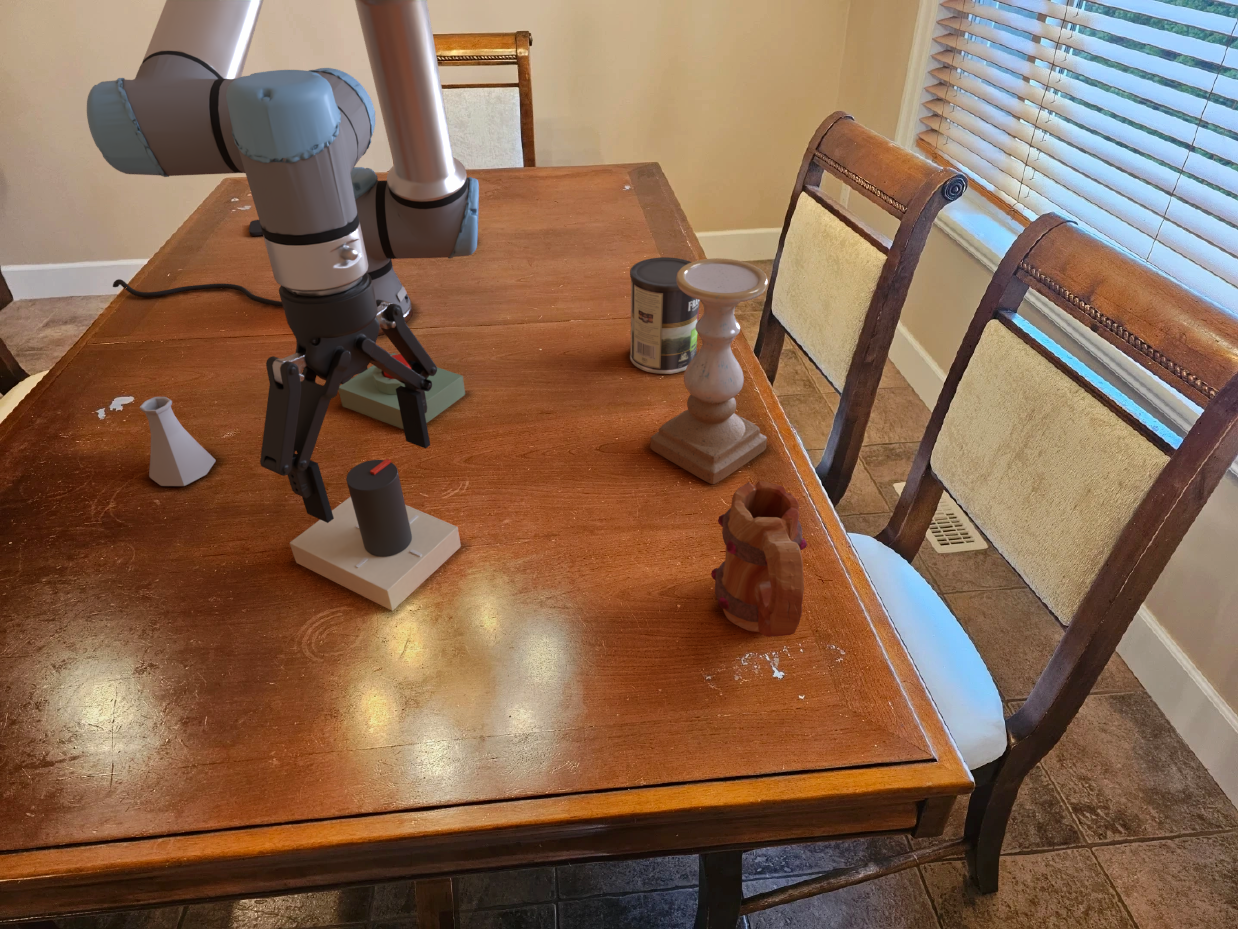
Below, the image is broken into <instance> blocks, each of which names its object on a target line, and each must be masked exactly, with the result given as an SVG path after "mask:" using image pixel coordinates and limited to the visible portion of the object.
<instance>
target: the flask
mask: <svg viewBox="0 0 1238 929" xmlns="http://www.w3.org/2000/svg"><path fill="white" fill-rule="evenodd" d="M172 405H173V400H172V399H170V398H168V397H167V396H154V397H151V398H149V399H147V400H144V401H143V402H142V404H141V405H140V406H139V410H140V411H142V412H143V413H144V414H145V417H146V419H147V420H148V426H149V431H150V454H149V455H150V456H149V470H148V472H149V473H148V477H149V478H150V479H151V480H152V481H154V482H155V483H157V485H159V486H160V487H185V486H187V485H190V484H191V483H193V482H195V481H197V480H200V478H203V477H205V476H206V475H208V473H209V472H210V470H211V469H212V467H213V466H214V464H215V463H216V461H217V460H216V459H215V458H214V457H213V456H212V454H211V453H209V452H208V451H207V450H206V449H205V448H204V447H203V446H202V445H201V444H200V443H199V442H198V441H197V440H196V439H195V438H194V437H193V436H192V435H191V434H190V433H189V432H188V431H187V430H186V429H185V428H184V427H183V425H182V424H181V422H180V421H179V420H178V418H177V417H176V416H175V413H174V411H173V409H172Z"/></svg>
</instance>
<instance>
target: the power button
mask: <svg viewBox="0 0 1238 929" xmlns="http://www.w3.org/2000/svg"><path fill="white" fill-rule="evenodd" d="M396 354H397V355H392V357H394V358H395V359H397V360H398V361H400V362H401V363H403V364H404V365H406V366H407V367H409V368H410V369H411V367H410V366H409V364H408V363H407V362H406V360H405V359H404V358H403V357H402V355H401V354H400V353H396ZM384 375H385V377H386V378H389V379H395V378H393V377H392V376H390V375H388V374H387V373H385V372H384Z"/></svg>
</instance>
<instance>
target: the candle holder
mask: <svg viewBox="0 0 1238 929" xmlns="http://www.w3.org/2000/svg"><path fill="white" fill-rule="evenodd" d="M690 262H691V263H689V264H687V265H685V266H683V267H682V268H681V269H680V270H679V271H678V273H677V276H676V282H677V285H678V287H679V288H680V290H681V291H682V292H684V293H685V294H687V295H688V296H690V297H692V298H695V299H698V300H700V303H701V304H702V307H703V314H702V316H701V317H700V318H699V319H698V322H697V323H696V331H697V335H699V338H700V340H701V342H702V345H701V346H700V348H699V350H698V352H696V355H695V357H694V358H693V359H692V360H691V361H690V363H689V364H688V366H687V368H686V370H685V371H684V374H683V383H684V387H685V389H686V390H687V392H688V393H689V394H690V395H689V396H688V398H687V402H686V407H687V409H686V410H684V411H682V412H680V413H679V414H678V415H676V416H674V417H672V418H671V419H669V420H668V421H666V422H665V423H663V424H662V425H661V426H660V428H658V431H657V432H656V433H654V434H653V435H651V436H650V446H649V447H650V450H652V451H653V452H654V453H657V454H658V455H659V456H661V457H662V458H664V459H666V460H668V461H670V462H671V463H673V464H675V465H676V466H678V467H679V468H681V469H683V470H685V471H686V472H688V473H690V474H692V475H694V476H695V477H697V478H699V479H701V480H703V482H706V483H708V484H710V485H716V484H717V483H720V482H721V481H722V480H724V479H726V478H727V477H728V476H730V475H732V474H733V473H734V472H736V471H738V469H740V468H742V467H743V466H745V465H747V463H749V462H750V461H752V460H753V459H755V458H756V457H758V456H759V455H760V454H762V453H763V452H764V451H766V449H767V443H768V437H767V436H766V435H764V434H762V433H761V428H760V427H759V426H758V425H756V424H755V423H754V422H751V421H750V420H748V419H746V418H744V417H742V416H740V415H738V414H737V413H735V412H736V409H737V401H736V398H735V397H737V395H738V394H739V393H740V392H741V391H742V389H743V386H744V381H745V378H744V375H745V374H744V372H743V369H742V366H741V365H740V363H739V361H738V360H737V358H736V357H735V355H734V352H733V350H732V347H731V345H732V343H733V341H734V340H735V339H736V337H737V336H738V335H739V334H740V332H741V325H740V324H739V322H738V321H737V319H736V316H735V311H736V308H737V306H738V305H739V304H741V303H745V302H748V301H751V300H754V299H757V298H758V297H760V296H761V295H762V294H764V292H765V291H766V290H767V288H768V282H769V280H768V276H767V274H766V273H765V271H763V269H761V268H760V267H758V266H756V265H754V264H752V263H749V262H747V261H743V260H738V259H733V258H720V257H719V258H704V259H697V260H694V261H690Z"/></svg>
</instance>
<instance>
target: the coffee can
mask: <svg viewBox="0 0 1238 929" xmlns="http://www.w3.org/2000/svg"><path fill="white" fill-rule="evenodd" d="M691 262H692V261H690V260H687V259H684V258H679V257H668V256H667V257H666V256H664V257H663V256H662V257H652V258H647V259H644V260H640V261H639V262H636V263H635V264H633V265H632V266H631V267H630V269H629V277H630V353H629V359H630V361H631V363H632V365H633V366H634V367H636V368H638V369H640V370H641V371H644V372H647V373H651V374H658V375H673V374H678V373H682V372H685V370H686V368H687V366H688V364H689V363H690V361H691V360H692V359H693V358H694V357H695V355H696V354H697V350H698V349H697V346H698V333H697V331H696V323H697V322H698V321H699V319H700V318H699V316H700V303H701V301H700V300H698V299H695V298H692V297H690V296H688V295H687V294H685V293H684V292H682V291H681V290H680V288H679V287H678V285H677V282H676V276H677V273H678V271H679V270H680V269H681V268H682V267H683V266H685V265H687V264H689V263H691Z"/></svg>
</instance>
